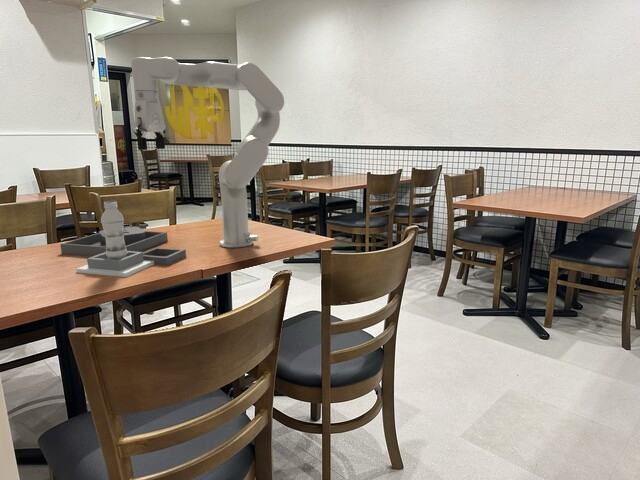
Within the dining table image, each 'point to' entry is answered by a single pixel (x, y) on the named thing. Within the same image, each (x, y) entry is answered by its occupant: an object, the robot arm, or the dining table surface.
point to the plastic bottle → (113, 231)
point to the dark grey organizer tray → (93, 246)
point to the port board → (116, 265)
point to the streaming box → (126, 235)
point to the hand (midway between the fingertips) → (151, 149)
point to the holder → (170, 254)
